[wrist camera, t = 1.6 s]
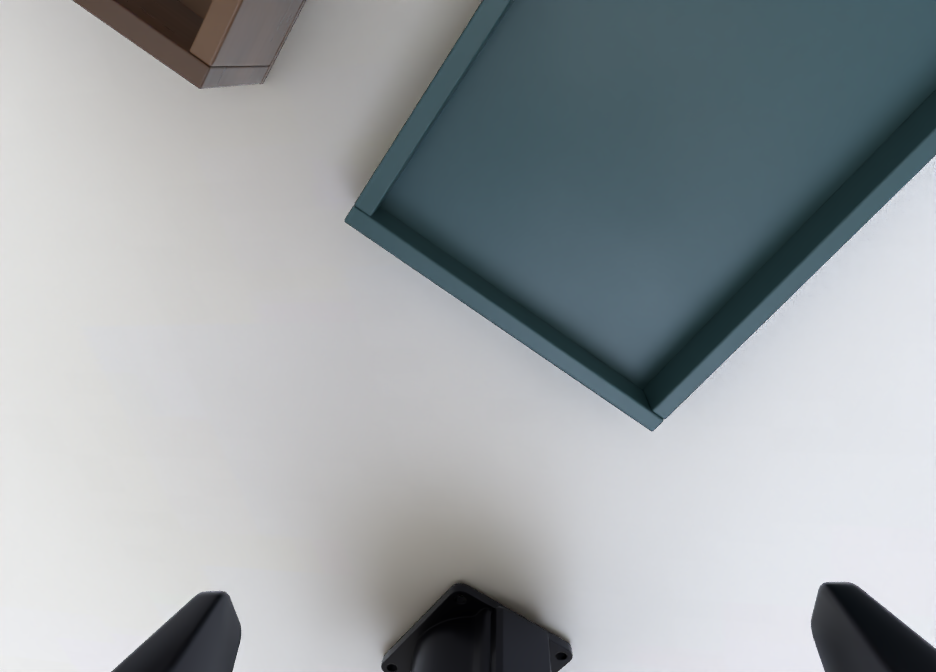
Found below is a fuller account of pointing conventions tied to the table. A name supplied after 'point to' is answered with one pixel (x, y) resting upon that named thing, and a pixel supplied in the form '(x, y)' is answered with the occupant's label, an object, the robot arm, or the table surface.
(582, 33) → the tray
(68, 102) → the table surface
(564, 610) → the table surface
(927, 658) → the robot arm
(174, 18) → the open box
